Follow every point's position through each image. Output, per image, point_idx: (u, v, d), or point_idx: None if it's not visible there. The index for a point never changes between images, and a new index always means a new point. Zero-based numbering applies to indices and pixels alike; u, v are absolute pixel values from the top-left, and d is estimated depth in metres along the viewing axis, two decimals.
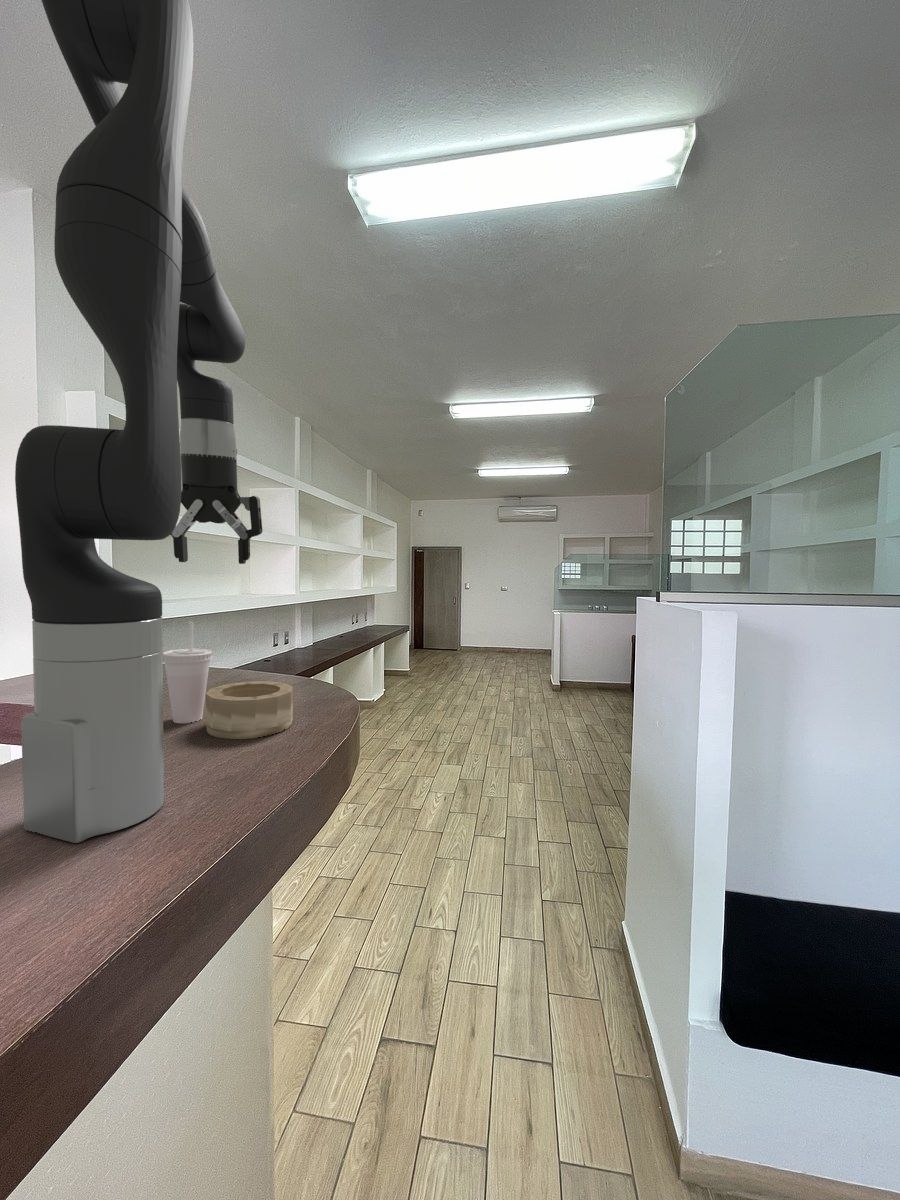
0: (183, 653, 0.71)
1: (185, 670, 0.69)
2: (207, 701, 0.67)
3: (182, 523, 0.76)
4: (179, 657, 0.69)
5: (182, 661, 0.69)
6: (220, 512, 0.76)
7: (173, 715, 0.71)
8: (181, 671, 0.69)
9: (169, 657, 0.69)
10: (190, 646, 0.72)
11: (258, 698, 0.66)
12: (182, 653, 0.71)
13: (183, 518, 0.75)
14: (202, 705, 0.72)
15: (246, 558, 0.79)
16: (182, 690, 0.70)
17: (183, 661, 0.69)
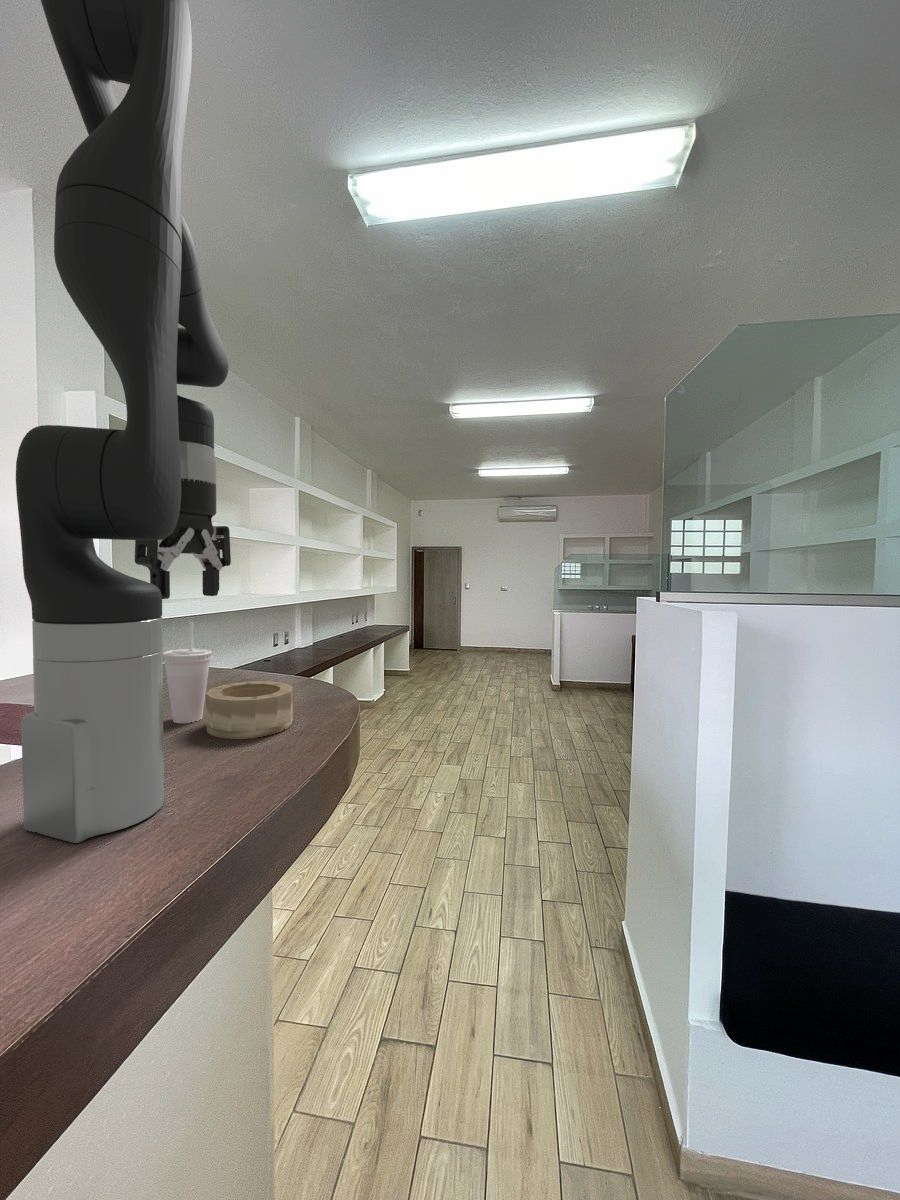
0: (183, 653, 0.71)
1: (185, 670, 0.69)
2: (207, 701, 0.67)
3: (173, 554, 0.67)
4: (179, 657, 0.69)
5: (182, 661, 0.69)
6: (206, 541, 0.72)
7: (173, 715, 0.71)
8: (181, 671, 0.69)
9: (169, 657, 0.69)
10: (190, 646, 0.72)
11: (258, 698, 0.66)
12: (182, 653, 0.71)
13: (176, 548, 0.67)
14: (202, 705, 0.72)
15: (217, 589, 0.76)
16: (182, 690, 0.70)
17: (183, 661, 0.69)
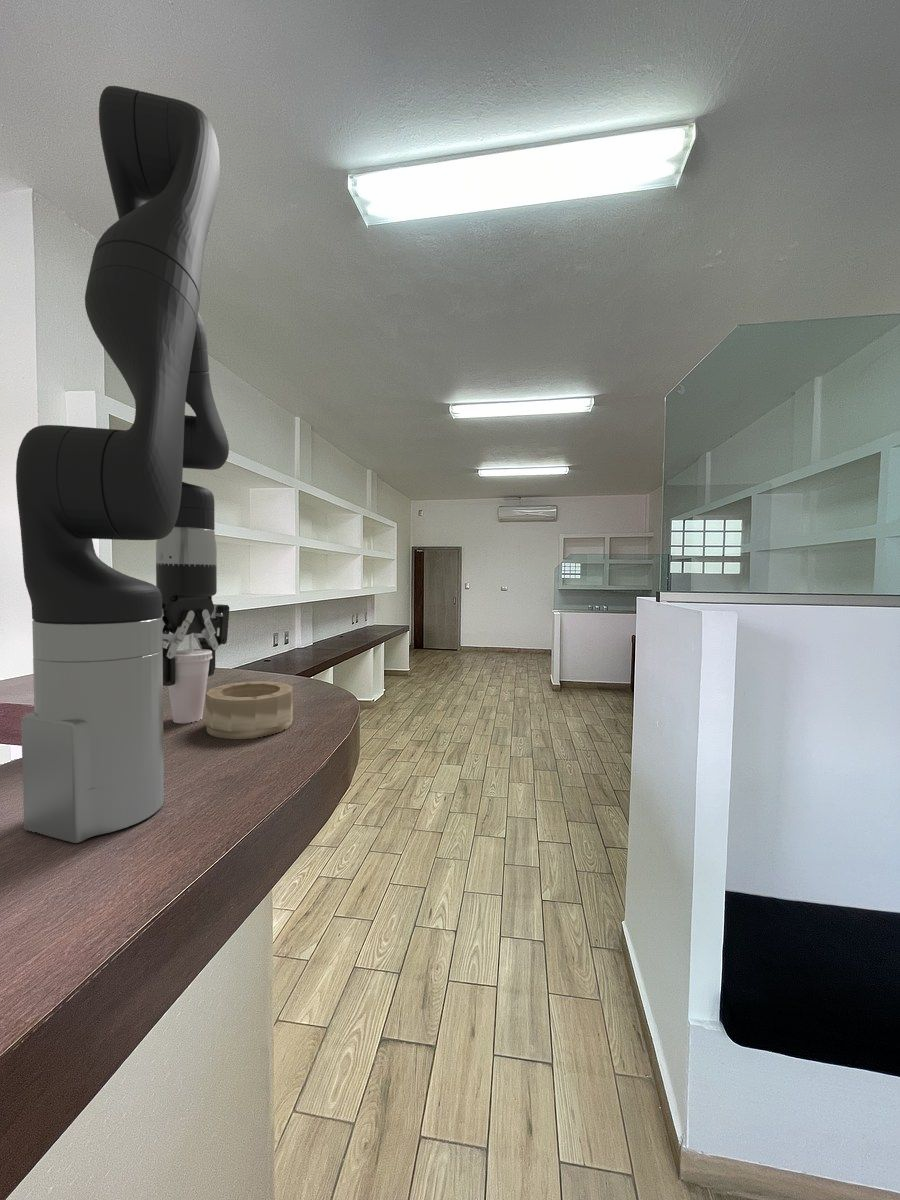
0: (183, 653, 0.71)
1: (185, 670, 0.69)
2: (207, 701, 0.67)
3: (177, 641, 0.68)
4: (179, 657, 0.69)
5: (182, 661, 0.69)
6: (205, 621, 0.72)
7: (173, 714, 0.71)
8: (181, 671, 0.69)
9: None
10: (190, 646, 0.72)
11: (258, 698, 0.66)
12: (182, 653, 0.71)
13: (179, 635, 0.68)
14: (202, 705, 0.72)
15: (213, 669, 0.76)
16: (182, 690, 0.70)
17: (183, 661, 0.69)
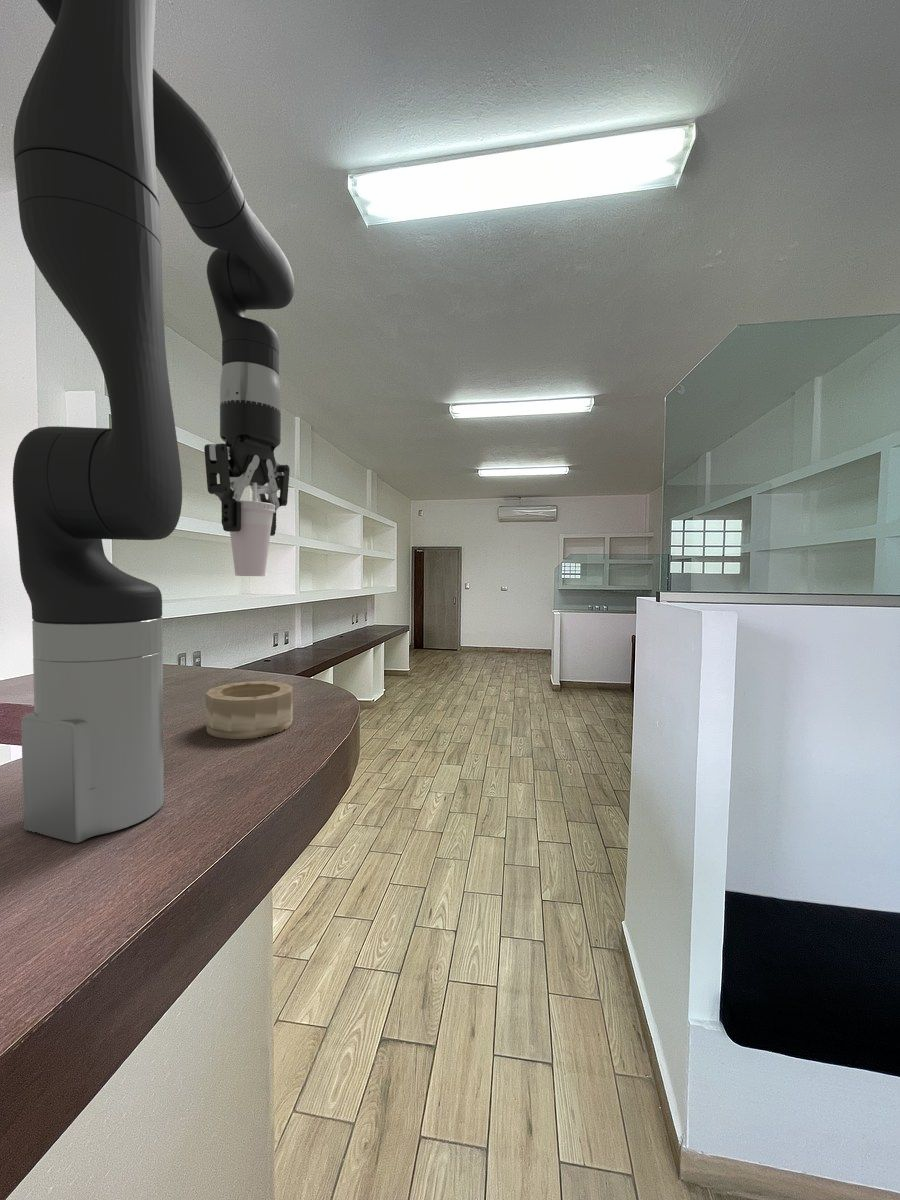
0: None
1: (250, 517, 0.66)
2: (207, 701, 0.67)
3: (243, 483, 0.65)
4: (245, 502, 0.65)
5: (248, 506, 0.65)
6: (268, 472, 0.69)
7: (237, 567, 0.67)
8: (246, 518, 0.66)
9: None
10: (254, 497, 0.68)
11: (258, 698, 0.66)
12: None
13: (245, 477, 0.65)
14: (265, 560, 0.69)
15: (274, 529, 0.72)
16: (247, 540, 0.66)
17: (249, 506, 0.65)
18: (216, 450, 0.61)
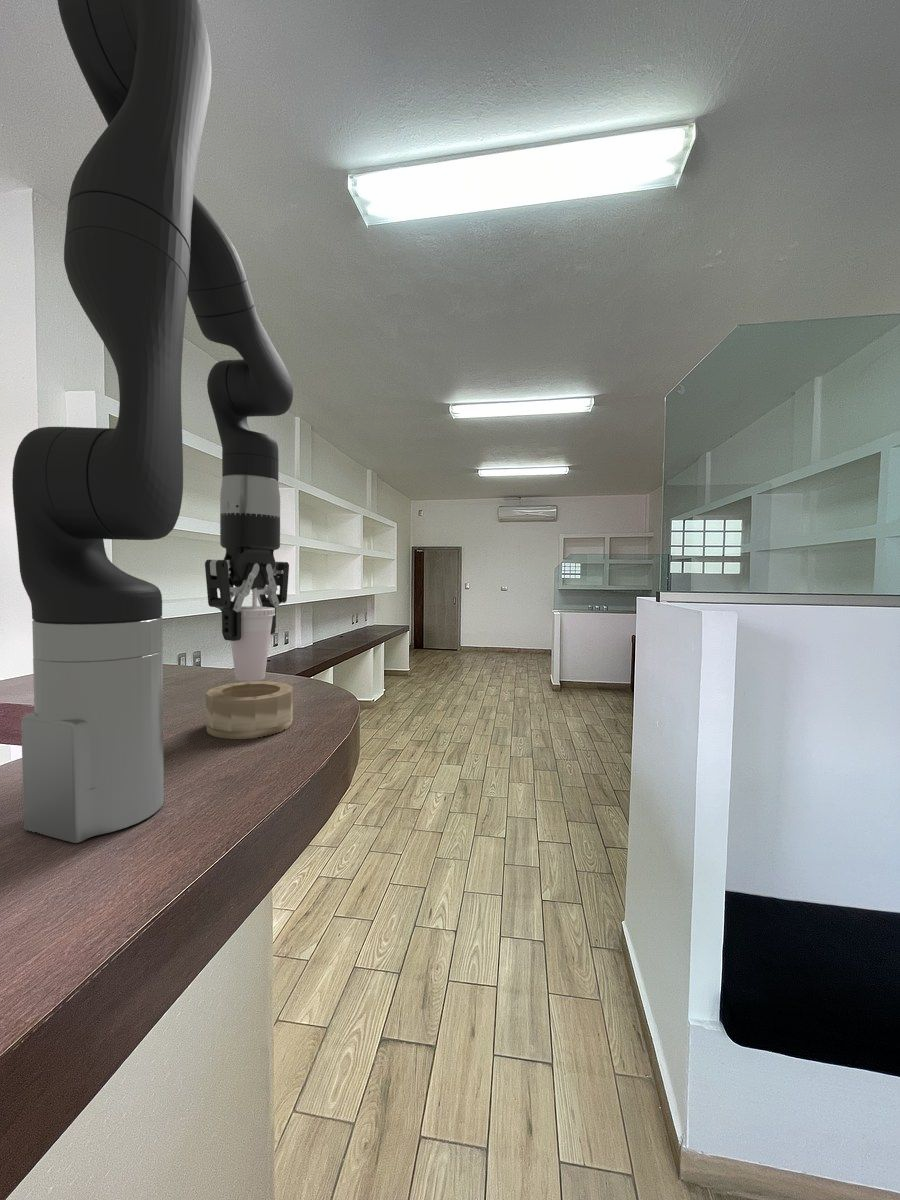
0: (247, 608, 0.68)
1: (250, 625, 0.67)
2: (207, 701, 0.67)
3: (243, 594, 0.66)
4: (245, 611, 0.66)
5: (248, 615, 0.66)
6: (268, 576, 0.70)
7: (237, 672, 0.68)
8: (246, 626, 0.67)
9: None
10: (254, 602, 0.69)
11: (258, 698, 0.66)
12: (246, 608, 0.68)
13: (245, 588, 0.66)
14: (265, 663, 0.70)
15: (274, 628, 0.73)
16: (247, 647, 0.67)
17: (249, 615, 0.66)
18: (216, 567, 0.62)
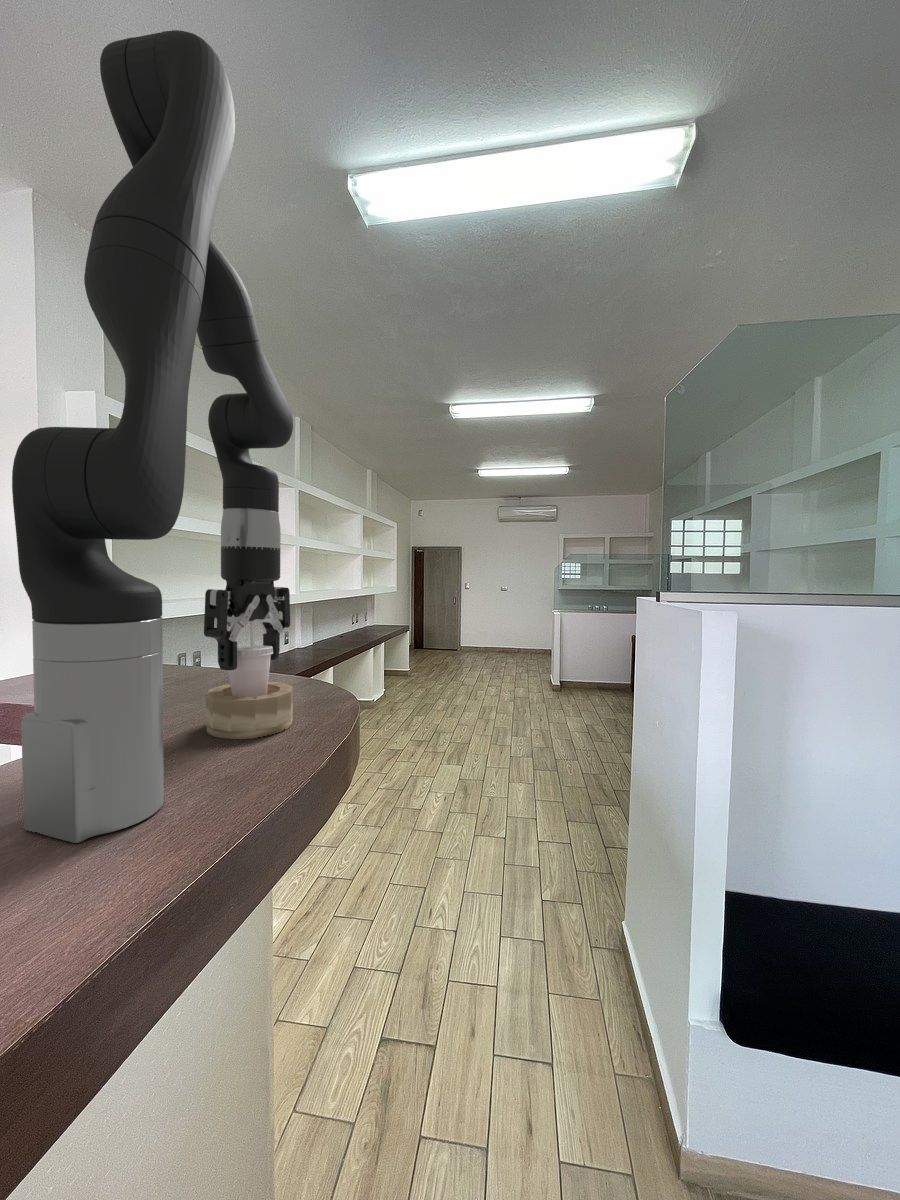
0: (245, 648, 0.69)
1: (249, 665, 0.68)
2: (207, 701, 0.67)
3: (240, 624, 0.65)
4: (243, 651, 0.67)
5: (246, 655, 0.67)
6: (269, 606, 0.70)
7: None
8: (245, 666, 0.67)
9: None
10: (252, 641, 0.70)
11: (258, 698, 0.66)
12: (244, 648, 0.69)
13: (243, 618, 0.66)
14: None
15: None
16: (246, 686, 0.68)
17: (247, 655, 0.67)
18: (216, 597, 0.63)
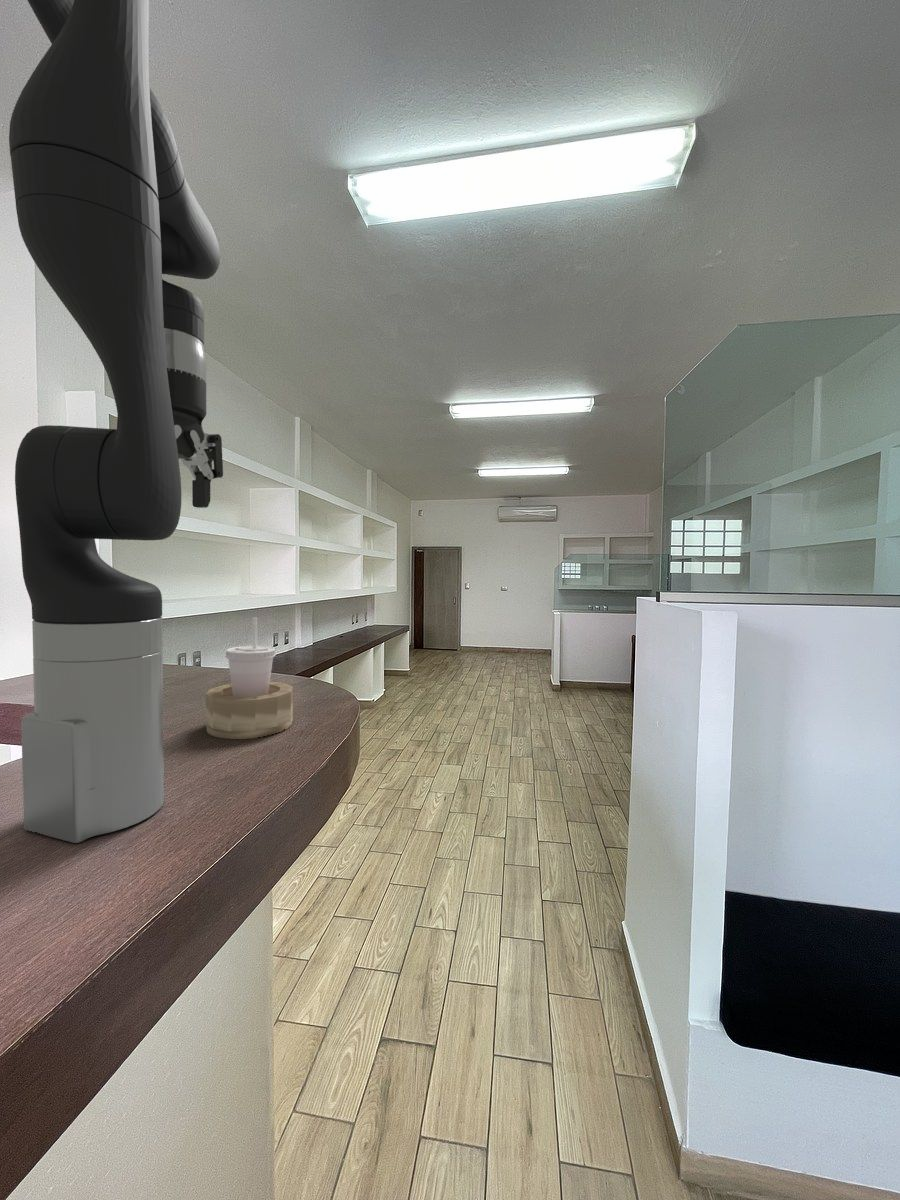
0: (248, 650, 0.68)
1: (251, 668, 0.67)
2: (207, 701, 0.67)
3: None
4: (245, 654, 0.67)
5: (248, 658, 0.67)
6: (195, 444, 0.67)
7: None
8: (247, 669, 0.67)
9: (235, 654, 0.67)
10: (254, 643, 0.69)
11: (258, 698, 0.66)
12: (247, 650, 0.68)
13: None
14: None
15: (208, 501, 0.71)
16: (248, 689, 0.68)
17: (249, 658, 0.67)
18: None
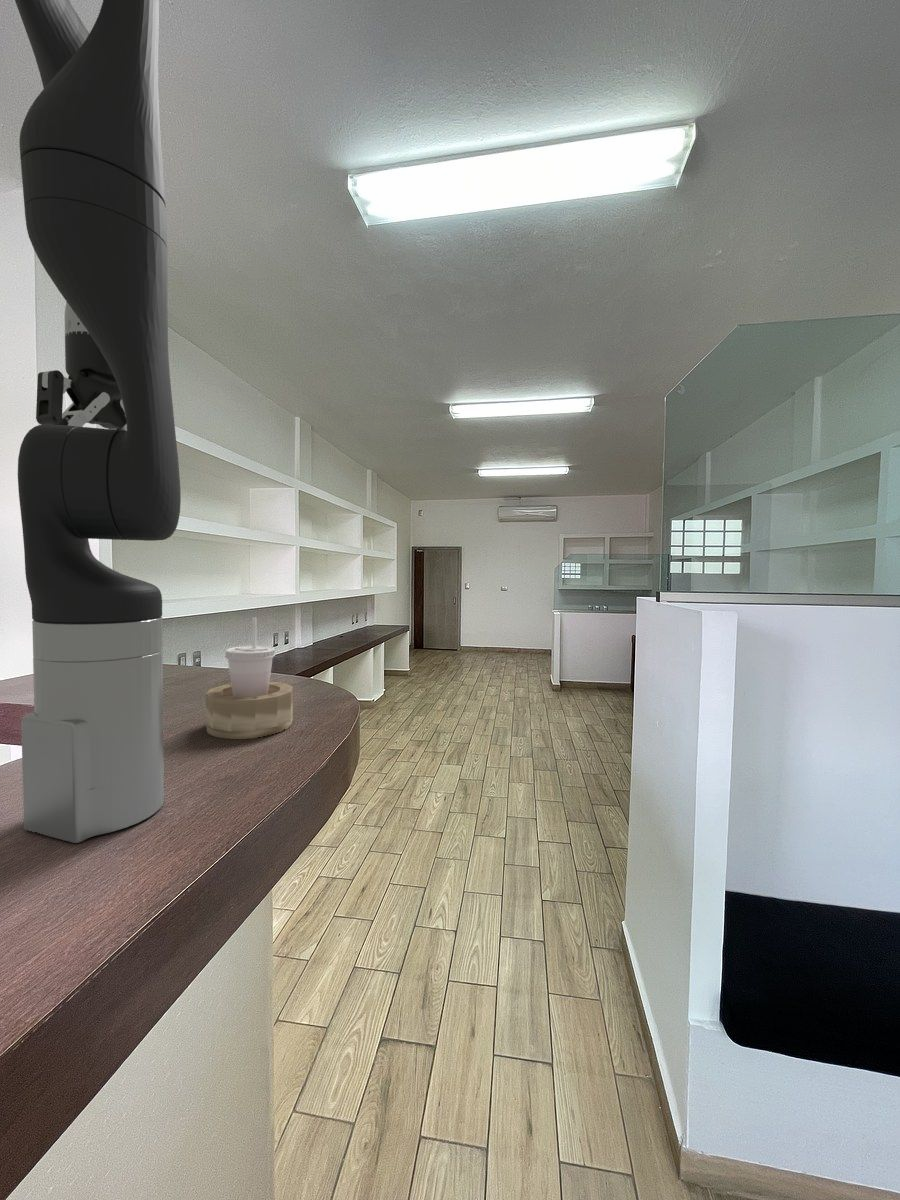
0: (247, 650, 0.68)
1: (250, 668, 0.67)
2: (207, 701, 0.67)
3: (82, 417, 0.60)
4: (245, 654, 0.67)
5: (248, 658, 0.67)
6: None
7: None
8: (246, 669, 0.67)
9: (234, 654, 0.67)
10: (254, 643, 0.69)
11: (258, 698, 0.66)
12: (246, 650, 0.68)
13: (86, 411, 0.60)
14: None
15: None
16: (247, 689, 0.68)
17: (249, 658, 0.67)
18: (48, 377, 0.57)
